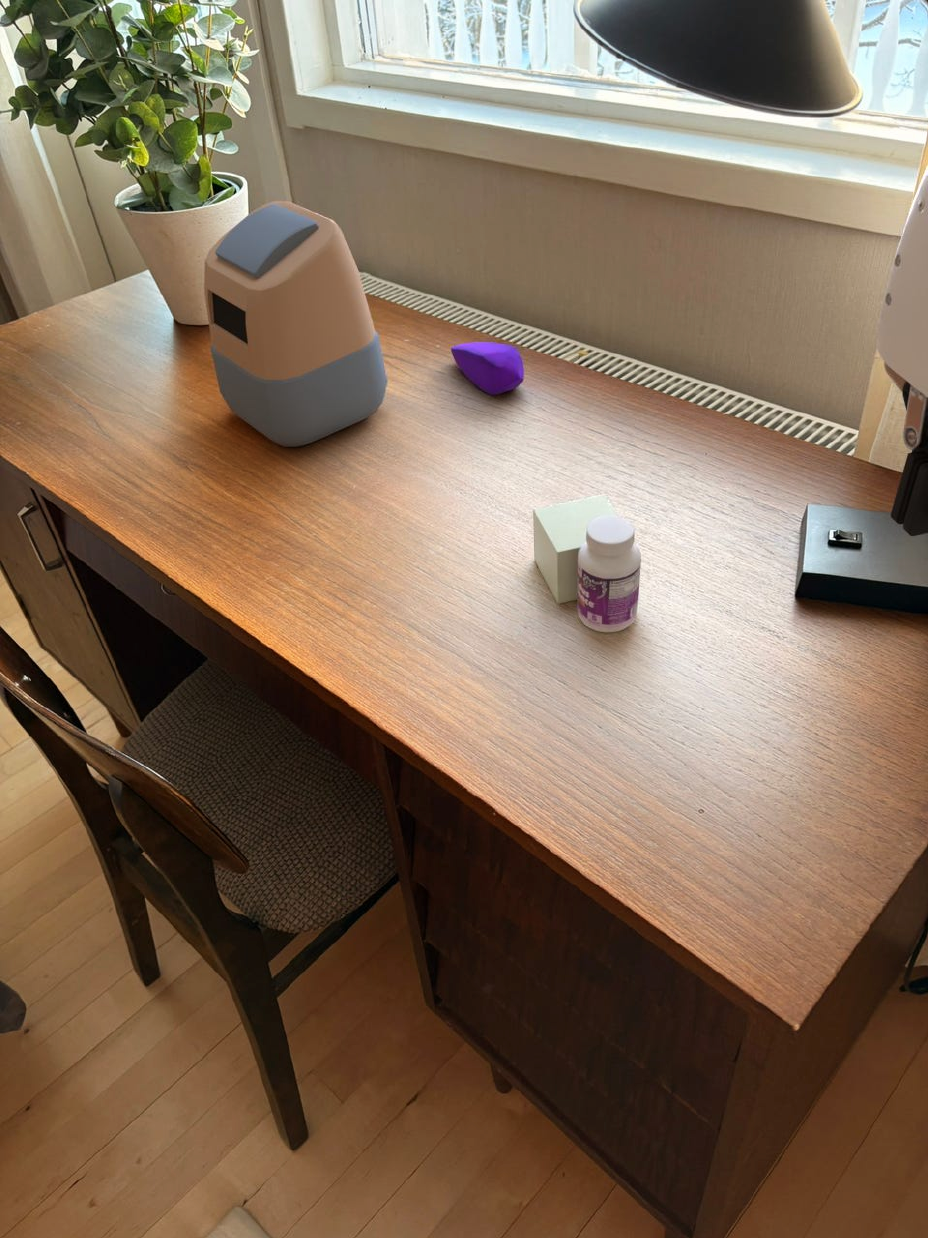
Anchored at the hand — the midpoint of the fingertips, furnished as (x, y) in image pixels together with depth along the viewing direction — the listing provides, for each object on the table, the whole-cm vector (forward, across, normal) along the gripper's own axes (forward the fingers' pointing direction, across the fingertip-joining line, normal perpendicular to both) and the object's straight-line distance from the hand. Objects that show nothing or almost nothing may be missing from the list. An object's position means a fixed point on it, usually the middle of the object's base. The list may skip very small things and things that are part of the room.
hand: (926, 521), depth 48 cm
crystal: (+27, +74, +5) cm, 79 cm away
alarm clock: (+27, +73, +27) cm, 83 cm away
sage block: (+27, +33, +6) cm, 43 cm away
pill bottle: (+27, +27, +6) cm, 39 cm away
